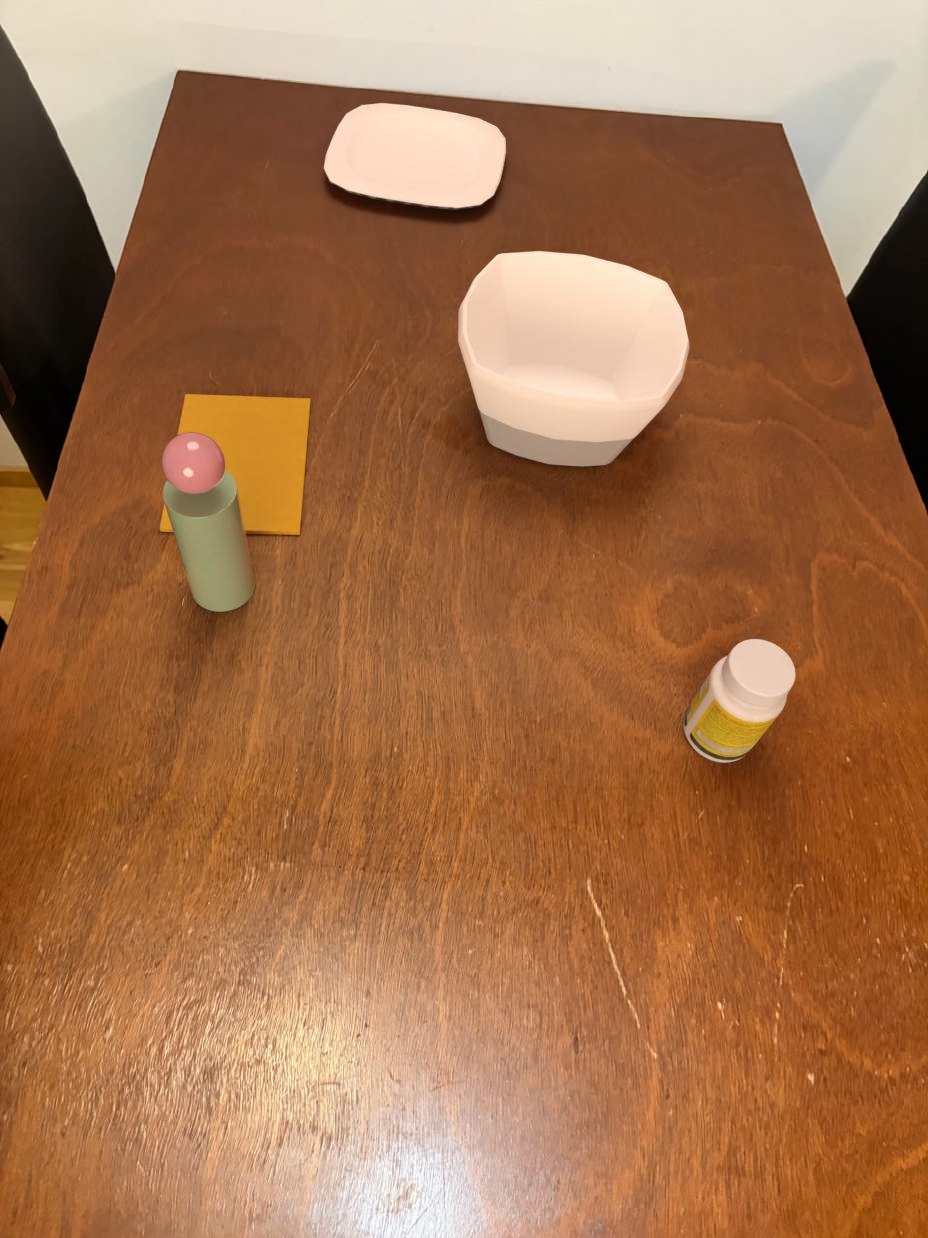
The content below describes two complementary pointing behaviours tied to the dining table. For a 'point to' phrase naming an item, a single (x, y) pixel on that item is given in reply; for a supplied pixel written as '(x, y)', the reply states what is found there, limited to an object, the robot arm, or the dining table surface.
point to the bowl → (569, 354)
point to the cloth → (256, 454)
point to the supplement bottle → (739, 700)
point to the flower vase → (207, 522)
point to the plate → (416, 156)
